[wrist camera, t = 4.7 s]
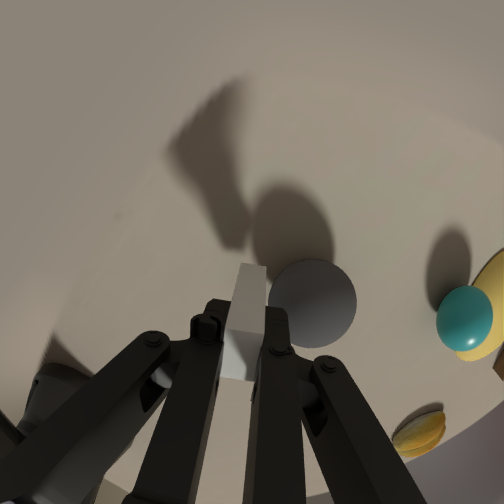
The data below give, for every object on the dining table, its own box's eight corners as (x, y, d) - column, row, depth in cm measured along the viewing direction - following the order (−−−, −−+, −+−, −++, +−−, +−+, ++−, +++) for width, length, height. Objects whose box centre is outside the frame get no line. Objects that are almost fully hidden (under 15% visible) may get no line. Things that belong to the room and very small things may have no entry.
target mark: (431, 363, 22) (432, 364, 22) (487, 233, 17) (489, 234, 17) (498, 356, 22) (499, 357, 22) (542, 257, 17) (543, 258, 17)
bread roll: (441, 400, 25) (452, 421, 21) (441, 425, 27) (450, 443, 23) (385, 430, 26) (393, 453, 22) (394, 450, 29) (401, 469, 25)
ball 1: (260, 311, 20) (260, 361, 15) (275, 240, 18) (280, 275, 13) (331, 320, 20) (348, 368, 15) (352, 254, 18) (382, 290, 13)
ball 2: (416, 327, 20) (444, 366, 15) (440, 271, 18) (478, 302, 13) (455, 329, 20) (483, 362, 15) (477, 278, 19) (513, 306, 13)
